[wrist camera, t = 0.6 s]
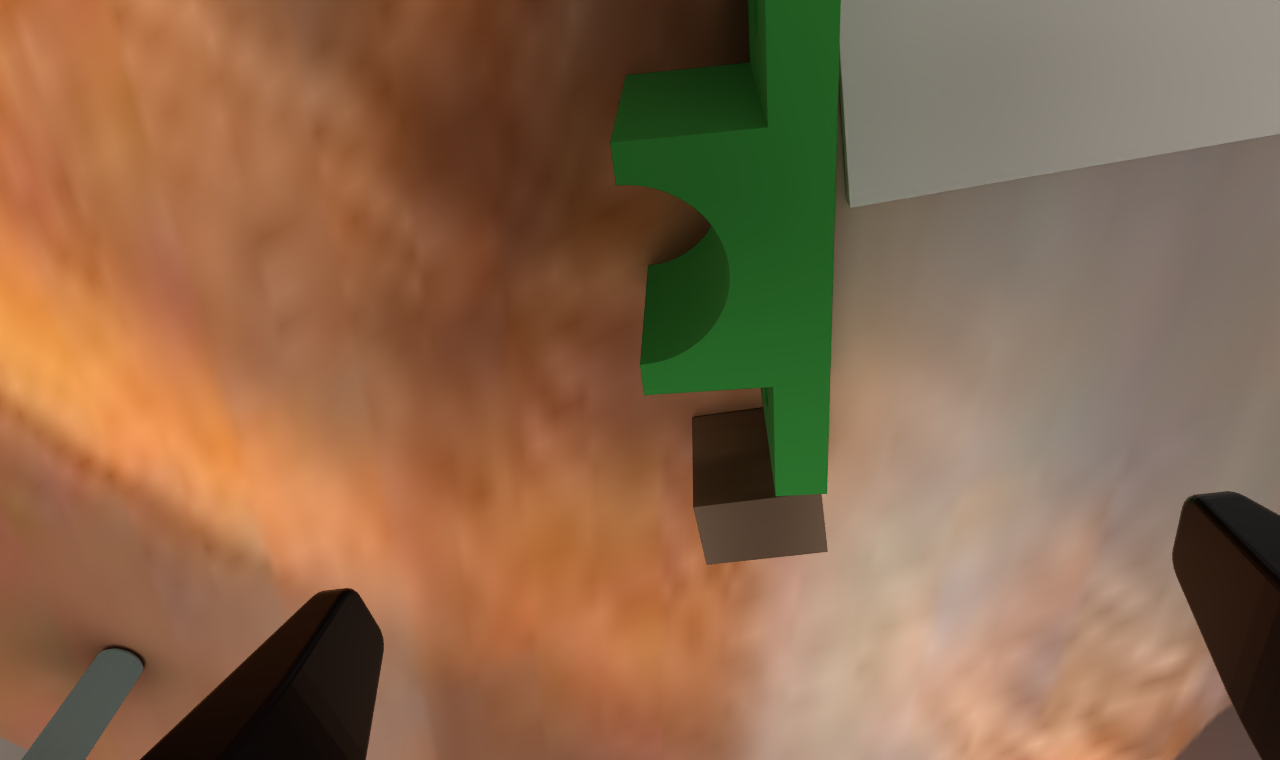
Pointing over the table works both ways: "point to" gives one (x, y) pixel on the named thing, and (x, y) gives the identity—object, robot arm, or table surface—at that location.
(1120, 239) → the table surface
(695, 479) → the pair of blocks
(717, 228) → the pipe clamp
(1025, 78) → the mat
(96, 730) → the hook
